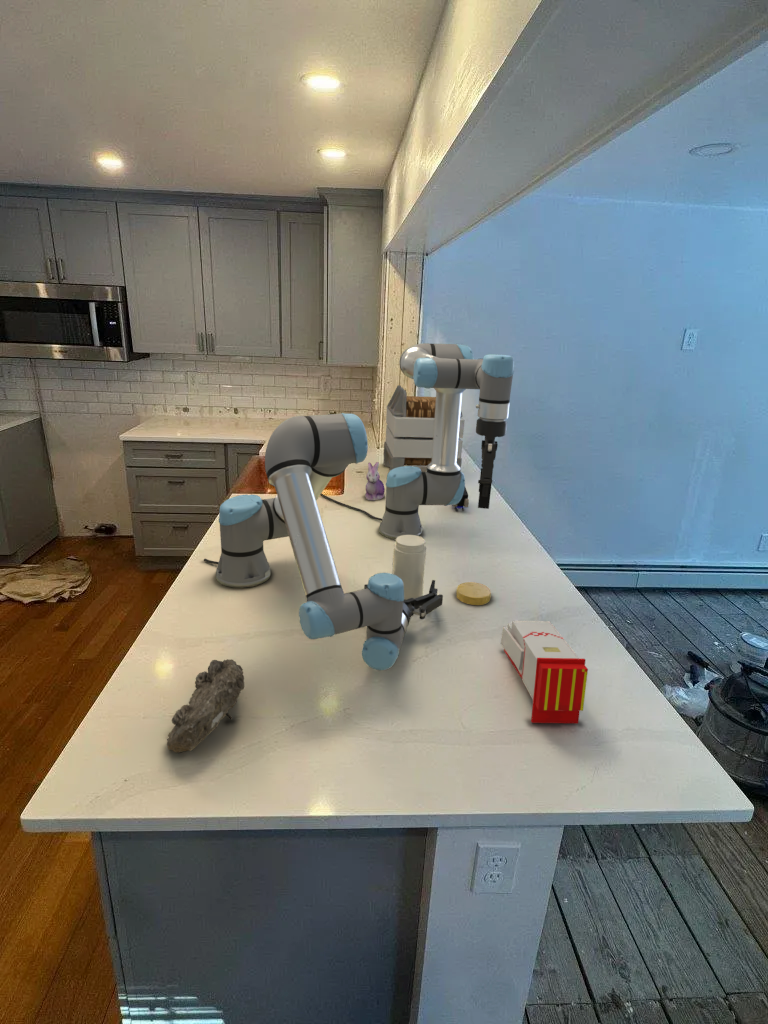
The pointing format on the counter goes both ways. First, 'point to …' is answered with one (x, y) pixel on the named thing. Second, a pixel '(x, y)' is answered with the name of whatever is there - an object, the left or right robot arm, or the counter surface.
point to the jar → (410, 564)
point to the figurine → (374, 483)
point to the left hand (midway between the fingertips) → (408, 581)
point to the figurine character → (463, 501)
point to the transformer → (412, 431)
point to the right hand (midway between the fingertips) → (483, 499)
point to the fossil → (206, 705)
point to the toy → (547, 670)
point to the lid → (473, 593)
